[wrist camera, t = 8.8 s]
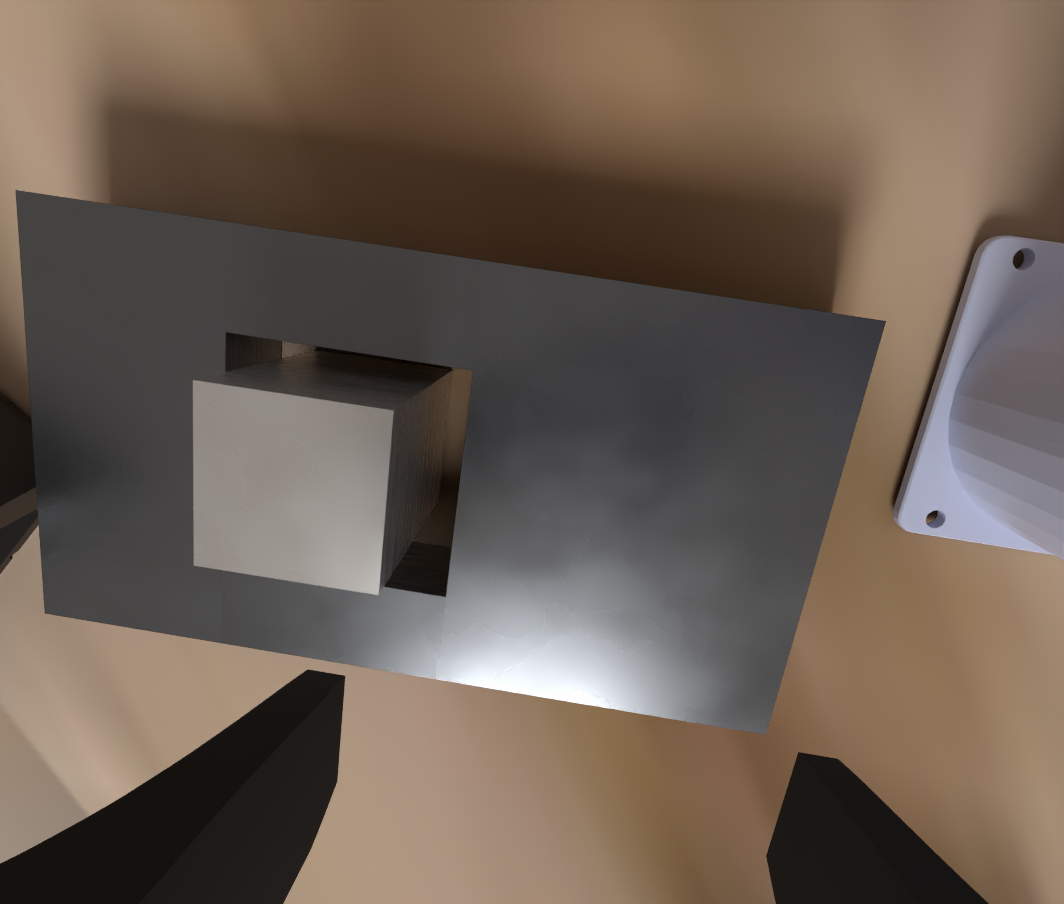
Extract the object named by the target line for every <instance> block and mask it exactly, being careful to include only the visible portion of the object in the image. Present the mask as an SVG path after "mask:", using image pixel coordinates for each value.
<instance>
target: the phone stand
mask: <svg viewBox="0 0 1064 904" xmlns="http://www.w3.org/2000/svg"><path fill="white" fill-rule="evenodd" d="M38 525H39V521H38V507H37V492H36V478H35V463H34V449H33V434H32V421H31V420H30V419H29V418H28V417H27V416H25V415H24V414H23V413H22V412H21V411H19V410H18V409H17V408H16V407H15V406H13V405H12V404H11V403H10V402H9V401H7V400H6V399H5V398H4V397H3V396H1V395H0V574H1V572H2V571H3V570H4V569H5V567H6V566H7V565H8V563H9V562H10V561H11V559H12V557H11V556H12V555H13V554H14V553H15V552H17V551H18V550H19V549H20V548H21V547H22V545H23V544H24V543H25V541H26V540H27V539H28V538H29V536H30V535H31V534H32V532H33V531H34V530H35V529H36V527H37V526H38Z"/></svg>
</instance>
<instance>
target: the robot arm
mask: <svg viewBox="0 0 1064 904" xmlns="http://www.w3.org/2000/svg"><path fill="white" fill-rule="evenodd" d="M1019 250H1020V251H1022V253H1023V254H1024V262H1023V263H1022V265H1021V267H1019V268H1018V269H1016V268H1015V267H1014V265H1013V257H1014V255H1015V254H1016V252H1017V251H1019ZM936 510H937V511H938V512H937V517H936V518H935V520H934V521H932V522H930V523H926V517H927V515H928V514H929V513H930V512H932V511H936ZM893 518H894V520H895V522H896V523H897V524H898V525H899V526H900V527H902V528H903V529H904V530H906V531H909V532H913V533H919V534H925V535H932V536H938V537H944V538H951V539H957V540H963V541H969V542H976V543H982V544H988V545H995V546H1001V547H1007V548H1014V549H1020V550H1026V551H1032V552H1039V553H1045V554H1051V555H1055V556H1057V557H1059V558H1060V559H1062V560H1064V243H1058V242H1051V241H1044V240H1037V239H1031V238H1024V237H1017V236H1010V235H1007V236H996V237H992V238H989V239H987V240H985V241H984V242H983V243H982V244H981V245H980V246H979V247H978V249H977V251H976V253H975V255H974V258H973V262H972V265H971V268H970V271H969V274H968V277H967V280H966V283H965V287H964V290H963V293H962V296H961V299H960V302H959V305H958V309H957V312H956V315H955V318H954V321H953V324H952V327H951V330H950V334H949V337H948V340H947V343H946V346H945V349H944V352H943V356H942V359H941V362H940V365H939V368H938V371H937V374H936V378H935V381H934V384H933V387H932V390H931V393H930V396H929V399H928V403H927V406H926V409H925V412H924V415H923V418H922V421H921V425H920V428H919V431H918V434H917V437H916V440H915V443H914V447H913V450H912V453H911V456H910V459H909V462H908V465H907V468H906V472H905V475H904V478H903V481H902V484H901V487H900V490H899V494H898V497H897V500H896V503H895V506H894V509H893ZM344 685H345V676H343V675H337V674H331V673H325V672H319V671H314V670H306V671H305V672H304V673H302V674H301V675H299V676H298V677H296V678H295V679H293V680H292V681H291V682H289V683H288V684H286V685H285V686H284V687H282V688H281V689H280V690H278V691H277V692H276V693H274V694H273V695H271V696H270V697H269V698H267V699H266V700H265V701H263V702H262V703H261V704H259V705H258V706H256V707H255V708H254V709H252V710H251V711H250V712H248V713H247V714H245V715H244V716H243V717H241V718H240V719H239V720H237V721H236V722H234V723H233V724H231V725H230V726H229V727H227V728H226V729H224V730H223V731H221V732H220V733H219V734H217V735H216V736H214V737H213V738H211V739H210V740H209V741H207V742H206V743H204V744H203V745H201V746H200V747H199V748H197V749H196V750H194V751H193V752H191V753H190V754H188V755H187V756H185V757H184V758H182V759H181V760H179V761H178V762H176V763H175V764H173V765H172V766H170V767H168V768H167V769H165V770H164V771H162V772H161V773H159V774H158V775H156V776H154V777H153V778H151V779H150V780H148V781H147V782H145V783H143V784H142V785H140V786H139V787H137V788H136V789H134V790H133V791H131V792H129V793H128V794H126V795H125V796H123V797H121V798H120V799H118V800H116V801H115V802H113V803H111V804H110V805H108V806H106V807H105V808H103V809H101V810H99V811H98V812H96V813H94V814H92V815H91V816H89V817H87V818H85V819H84V820H82V821H80V822H78V823H76V824H75V825H73V826H71V827H69V828H67V829H65V830H64V831H62V832H60V833H58V834H56V835H55V836H53V837H51V838H49V839H47V840H45V841H43V842H42V843H40V844H38V845H36V846H34V847H32V848H30V849H29V850H27V851H25V852H23V853H21V854H20V855H17V856H15V857H13V858H11V859H9V860H7V861H5V862H3V863H1V864H0V904H283V903H284V901H285V899H286V897H287V895H288V893H289V891H290V889H291V887H292V885H293V883H294V881H295V879H296V877H297V875H298V873H299V871H300V870H301V868H302V866H303V864H304V862H305V860H306V858H307V856H308V854H309V852H310V850H311V848H312V845H313V843H314V840H315V838H316V835H317V833H318V830H319V828H320V825H321V822H322V820H323V817H324V815H325V812H326V810H327V807H328V804H329V802H330V799H331V796H332V794H333V791H334V789H335V786H336V783H337V777H338V764H339V750H340V737H341V724H342V711H343V698H344ZM766 857H767V862H768V867H769V872H770V877H771V882H772V887H773V892H774V897H775V901H776V904H989V903H987V902H986V901H985V900H984V899H983V898H982V897H981V896H980V895H979V894H978V893H977V892H976V891H975V890H974V889H973V888H971V887H970V886H969V885H968V884H967V883H966V882H965V881H964V880H963V879H962V878H961V877H960V876H959V875H958V874H957V873H956V872H955V871H954V870H953V869H952V868H951V867H949V866H948V865H947V864H946V863H945V862H944V861H943V860H942V859H941V858H940V857H939V856H938V855H937V854H936V853H935V852H934V851H933V850H932V849H931V848H930V847H929V846H928V845H927V844H926V843H925V842H924V841H923V840H922V839H921V838H920V837H919V836H918V835H917V834H916V833H915V832H914V831H913V830H912V829H911V828H909V827H908V826H907V825H906V824H905V823H904V822H903V821H902V820H901V819H900V818H899V817H898V816H897V815H896V814H895V813H894V812H893V811H892V810H891V809H890V808H889V807H888V806H887V805H886V804H885V803H884V802H883V801H882V800H881V799H880V798H879V797H878V796H877V795H876V794H875V793H874V792H873V791H872V790H871V789H870V788H869V787H868V786H867V785H866V784H865V783H863V782H862V781H861V780H860V779H859V778H858V777H857V776H856V775H855V774H854V773H853V772H852V771H851V770H850V769H849V768H847V767H846V766H845V765H844V764H843V763H842V762H841V761H840V760H838V759H835V758H829V757H823V756H817V755H811V754H806V753H800V752H798V755H797V759H796V762H795V765H794V768H793V771H792V775H791V778H790V781H789V784H788V788H787V791H786V794H785V797H784V800H783V804H782V807H781V810H780V813H779V817H778V820H777V823H776V826H775V830H774V833H773V836H772V839H771V842H770V846H769V849H768V852H767V855H766Z"/></svg>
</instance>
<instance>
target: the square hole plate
mask: <svg viewBox="0 0 1064 904" xmlns="http://www.w3.org/2000/svg"><path fill="white" fill-rule="evenodd" d="M16 203H17V217H18V232H19V246H20V261H21V275H22V290H23V304H24V319H25V333H26V347H27V362H28V376H29V391H30V405H31V420H32V434H33V449H34V463H35V478H36V492H37V507H38V521H39V535H40V550H41V564H42V579H43V593H44V608H45V614H51V615H57V616H63V617H69V618H75V619H81V620H87V621H93V622H99V623H105V624H111V625H117V626H123V627H129V628H135V629H141V630H147V631H152V632H158V633H164V634H170V635H176V636H182V637H188V638H194V639H200V640H206V641H212V642H218V643H224V644H230V645H236V646H242V647H248V648H254V649H259V650H265V651H271V652H277V653H283V654H289V655H295V656H301V657H307V658H313V659H319V660H325V661H331V662H337V663H343V664H349V665H355V666H361V667H366V668H372V669H378V670H384V671H390V672H396V673H402V674H408V675H414V676H420V677H426V678H432V679H438V680H444V681H450V682H456V683H462V684H468V685H473V686H479V687H485V688H491V689H497V690H503V691H509V692H515V693H521V694H527V695H533V696H539V697H545V698H551V699H557V700H563V701H569V702H575V703H581V704H586V705H592V706H598V707H604V708H610V709H616V710H622V711H628V712H634V713H640V714H646V715H652V716H658V717H664V718H670V719H676V720H682V721H688V722H693V723H699V724H705V725H711V726H717V727H723V728H729V729H735V730H741V731H747V732H753V733H759V734H765V735H766V732H767V729H768V725H769V722H770V718H771V715H772V711H773V708H774V705H775V701H776V698H777V694H778V691H779V687H780V684H781V680H782V677H783V674H784V670H785V667H786V663H787V660H788V656H789V653H790V649H791V646H792V643H793V639H794V636H795V632H796V629H797V625H798V622H799V619H800V615H801V612H802V608H803V605H804V601H805V598H806V594H807V591H808V588H809V584H810V581H811V577H812V574H813V570H814V567H815V563H816V560H817V557H818V553H819V550H820V546H821V543H822V539H823V536H824V533H825V529H826V526H827V522H828V519H829V515H830V512H831V508H832V505H833V502H834V498H835V495H836V491H837V488H838V484H839V481H840V477H841V474H842V471H843V467H844V464H845V460H846V457H847V453H848V450H849V447H850V443H851V440H852V436H853V433H854V429H855V426H856V422H857V419H858V416H859V412H860V409H861V405H862V402H863V398H864V395H865V391H866V388H867V385H868V381H869V378H870V374H871V371H872V367H873V364H874V361H875V357H876V354H877V350H878V347H879V343H880V340H881V336H882V333H883V330H884V326H885V323H886V321H881V320H875V319H868V318H861V317H855V316H848V315H841V314H835V313H828V312H822V311H815V310H808V309H802V308H795V307H788V306H782V305H775V304H768V303H762V302H755V301H749V300H742V299H735V298H729V297H722V296H715V295H709V294H702V293H695V292H689V291H682V290H675V289H669V288H662V287H656V286H649V285H642V284H636V283H629V282H622V281H616V280H609V279H602V278H596V277H589V276H583V275H576V274H569V273H563V272H556V271H549V270H543V269H536V268H529V267H523V266H516V265H509V264H503V263H496V262H490V261H483V260H476V259H470V258H463V257H456V256H450V255H443V254H436V253H430V252H423V251H417V250H410V249H403V248H397V247H390V246H383V245H377V244H370V243H363V242H357V241H350V240H343V239H337V238H330V237H324V236H317V235H310V234H304V233H297V232H290V231H284V230H277V229H270V228H264V227H257V226H250V225H244V224H237V223H231V222H224V221H217V220H211V219H204V218H197V217H191V216H184V215H177V214H171V213H164V212H158V211H151V210H144V209H138V208H131V207H124V206H118V205H111V204H104V203H98V202H91V201H84V200H78V199H71V198H65V197H58V196H51V195H45V194H38V193H31V192H25V191H18V190H16ZM282 341H286V342H293V343H299V344H306V345H312V346H319V347H325V348H332V349H338V350H344V351H351V352H357V353H364V354H370V355H377V356H383V357H390V358H396V359H402V360H409V361H415V362H422V363H428V364H435V365H441V366H448V367H454V368H460V369H467V370H473V377H472V385H471V394H470V402H469V410H468V419H467V427H466V435H465V443H464V452H463V460H462V468H461V477H460V485H459V493H458V501H457V510H456V518H455V526H454V534H453V543H452V548H448V547H441V546H435V545H429V544H423V543H417V542H412V544H411V545H410V547H409V548H408V550H407V551H406V553H405V555H404V556H403V558H402V559H401V561H400V562H399V564H398V565H397V567H396V569H395V570H394V572H393V573H392V575H391V576H390V578H389V580H388V581H387V583H386V584H385V586H384V587H383V589H382V591H381V592H380V594H379V595H374V594H368V593H361V592H355V591H349V590H343V589H336V588H330V587H324V586H318V585H312V584H305V583H299V582H293V581H287V580H280V579H274V578H268V577H262V576H255V575H249V574H243V573H237V572H231V571H224V570H218V569H212V568H206V567H199V566H194V515H193V380H195V379H199V378H203V377H207V376H211V375H215V374H220V373H224V372H228V371H232V370H236V369H240V368H244V367H248V366H252V365H256V364H260V363H264V362H269V361H273V360H277V359H281V348H282Z"/></svg>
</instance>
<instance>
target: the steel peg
mask: <svg viewBox="0 0 1064 904" xmlns="http://www.w3.org/2000/svg"><path fill="white" fill-rule="evenodd" d="M451 379H452V370H447V369H440V368H433V367H426V366H420V365H413V364H406V363H400V362H393V361H386V360H379V359H373V358H366V357H359V356H353V355H346V354H339V353H333V352H326V351H319V350H313V351H309V352H305V353H301V354H297V355H293V356H289V357H285V358H281V359H277V360H273V361H269V362H264V363H260V364H256V365H252V366H248V367H244V368H240V369H236V370H232V371H228V372H224V373H220V374H215V375H211V376H207V377H203V378H199V379H195V380H193V515H194V566H199V567H206V568H212V569H218V570H224V571H231V572H237V573H243V574H249V575H255V576H262V577H268V578H274V579H280V580H287V581H293V582H299V583H305V584H312V585H318V586H324V587H330V588H336V589H343V590H349V591H355V592H361V593H368V594H374V595H379V594H380V592H381V591H382V589H383V587H384V586H385V584H386V583H387V581H388V580H389V578H390V576H391V575H392V573H393V572H394V570H395V569H396V567H397V565H398V564H399V562H400V561H401V559H402V558H403V556H404V555H405V553H406V551H407V550H408V548H409V547H410V545H411V544H412V542H413V540H414V539H415V537H416V536H417V534H418V533H419V531H420V529H421V528H422V526H423V525H424V523H425V522H426V520H427V518H428V517H429V515H430V514H431V512H432V511H433V509H434V507H435V506H436V504H437V503H438V501H439V493H440V483H441V474H442V464H443V455H444V445H445V436H446V426H447V417H448V408H449V398H450V389H451Z"/></svg>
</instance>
